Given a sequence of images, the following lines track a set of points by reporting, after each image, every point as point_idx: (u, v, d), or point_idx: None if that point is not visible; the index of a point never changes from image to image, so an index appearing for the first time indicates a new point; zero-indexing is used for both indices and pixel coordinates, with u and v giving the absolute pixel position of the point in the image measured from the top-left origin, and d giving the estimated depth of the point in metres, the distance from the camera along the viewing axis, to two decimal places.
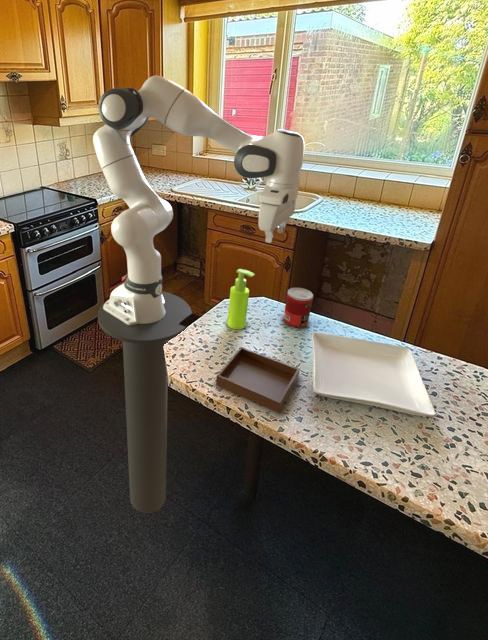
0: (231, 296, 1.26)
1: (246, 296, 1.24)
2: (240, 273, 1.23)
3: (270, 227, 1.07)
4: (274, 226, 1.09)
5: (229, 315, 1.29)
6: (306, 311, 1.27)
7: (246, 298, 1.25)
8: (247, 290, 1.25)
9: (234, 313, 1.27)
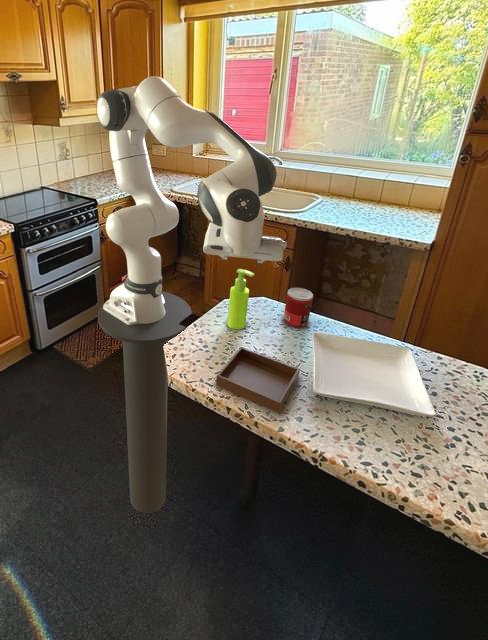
0: (231, 296, 1.26)
1: (246, 296, 1.24)
2: (240, 273, 1.23)
3: (203, 251, 1.04)
4: (213, 253, 1.04)
5: (229, 315, 1.29)
6: (306, 311, 1.27)
7: (246, 298, 1.25)
8: (247, 290, 1.25)
9: (234, 313, 1.27)
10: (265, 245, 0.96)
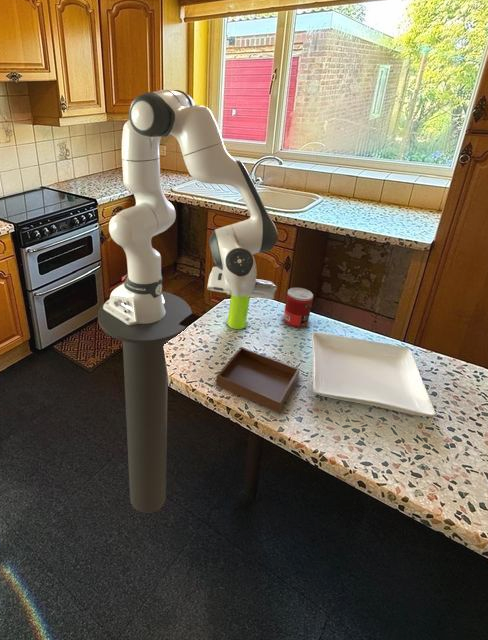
0: (233, 295, 1.26)
1: (248, 296, 1.24)
2: None
3: (207, 288, 1.23)
4: (215, 290, 1.23)
5: (230, 314, 1.29)
6: (306, 311, 1.27)
7: (248, 298, 1.25)
8: None
9: (235, 313, 1.27)
10: (259, 287, 1.14)
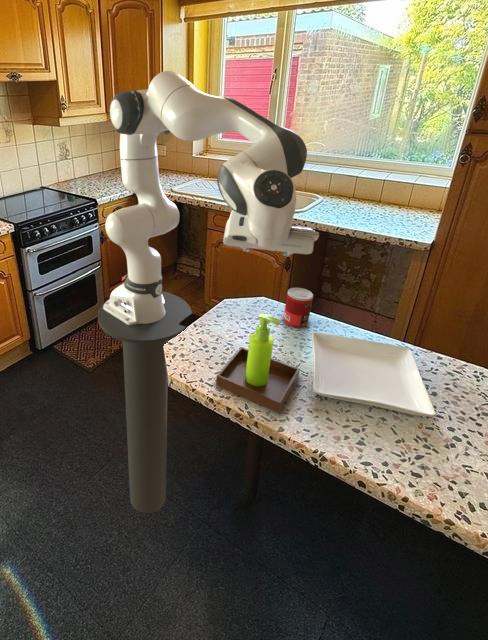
0: (251, 347, 1.01)
1: (270, 347, 1.00)
2: (263, 320, 0.98)
3: (223, 242, 0.94)
4: (234, 245, 0.94)
5: (248, 369, 1.04)
6: (305, 311, 1.27)
7: (270, 350, 1.00)
8: (271, 339, 1.01)
9: (255, 368, 1.02)
10: (294, 236, 0.85)
